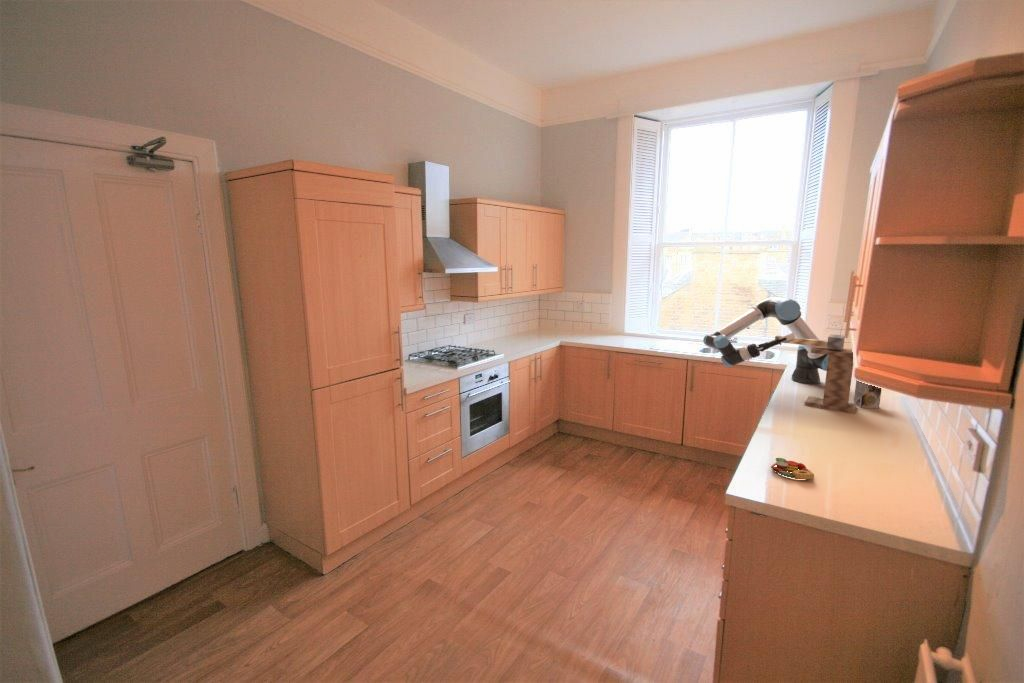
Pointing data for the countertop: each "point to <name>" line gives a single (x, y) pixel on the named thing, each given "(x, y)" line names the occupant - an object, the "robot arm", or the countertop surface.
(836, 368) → the walnut stand
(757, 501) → the countertop surface
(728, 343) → the robot arm
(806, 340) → the wooden handled hammer
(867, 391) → the coffee box
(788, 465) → the toy food set
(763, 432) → the countertop surface
